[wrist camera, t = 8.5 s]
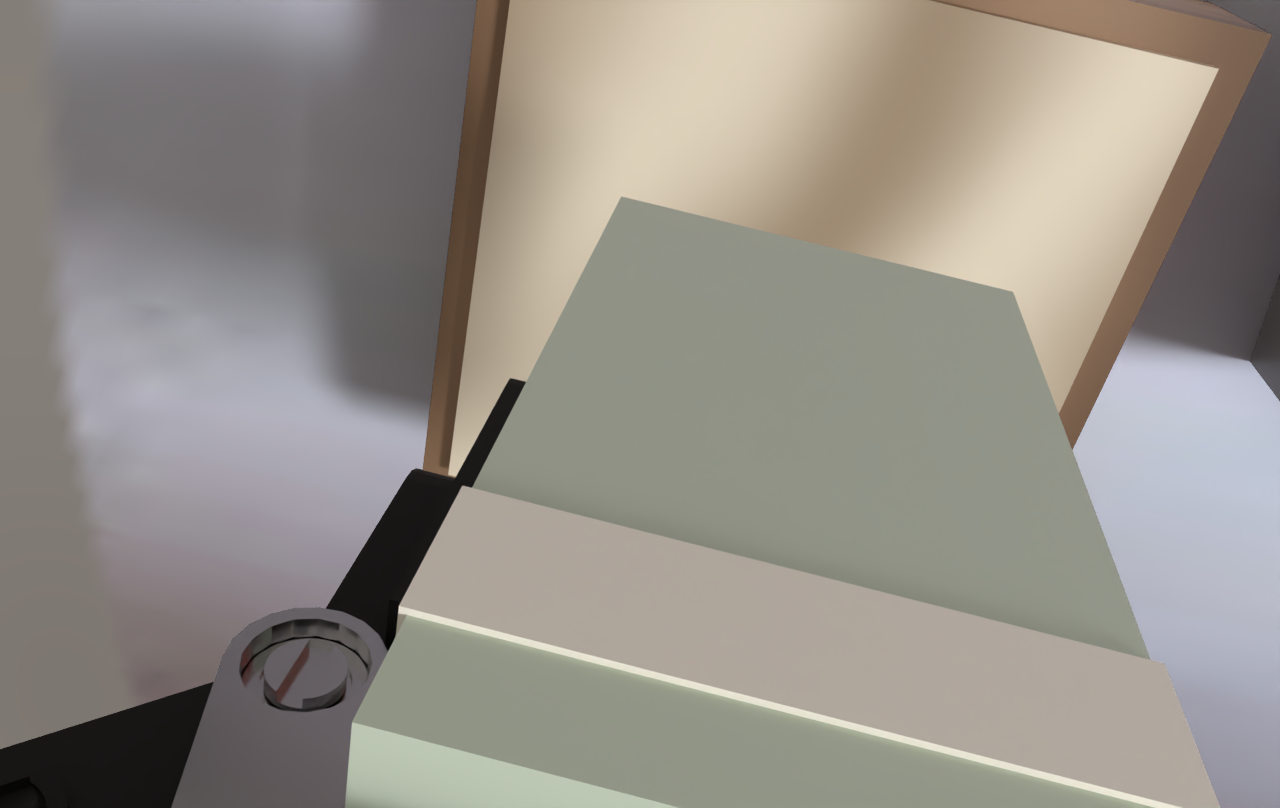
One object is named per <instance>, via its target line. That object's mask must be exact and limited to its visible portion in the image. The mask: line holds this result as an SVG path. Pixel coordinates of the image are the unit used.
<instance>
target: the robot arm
mask: <svg viewBox="0 0 1280 808" xmlns="http://www.w3.org/2000/svg"><path fill="white" fill-rule="evenodd" d="M525 383H526V382H525V381H521V380H517V379H513V378H510V379H509V381H508V382H507V384H506V386H505V387H504V389H503V391H502V393H501V395H500V397H499V398H498V400H497V402H496V404H495V406H494V408H493V409H492V411H491V413H490V415H489V417H488V419H487V421H486V422H485V424H484V426H483V428H482V430H481V432H480V433H479V435H478V437H477V439H476V441H475V443H474V444H473V446H472V448H471V450H470V452H469V454H468V455H467V457H466V459H465V461H464V463H463V465H462V467H461V468H460V470H459V472H458V474H457V476H456V478H452V477H448V476H444V475H440V474H436V473H432V472H428V471H424V470H421V469H417V468H416V469H414V470H412V471H411V472H410V474H409V475H408V476H407V477H406V479H405V481H404V482H403V484H402V485H401V487H400V489H399V490H398V492H397V494H396V495H395V497H394V498H393V500H392V502H391V503H390V505H389V507H388V508H387V510H386V511H385V513H384V515H383V516H382V518H381V520H380V521H379V523H378V524H377V526H376V528H375V529H374V531H373V533H372V534H371V536H370V537H369V539H368V541H367V542H366V544H365V546H364V547H363V549H362V550H361V552H360V554H359V555H358V557H357V559H356V560H355V562H354V563H353V565H352V567H351V568H350V570H349V572H348V573H347V575H346V576H345V578H344V580H343V581H342V583H341V585H340V586H339V588H338V589H337V591H336V593H335V594H334V596H333V598H332V599H331V601H330V602H329V604H328V606H327V607H326V608H321V607H316V608H293V609H288V610H284V611H280V612H275V613H271V614H269V615H267V616H265V617H263V618H261V619H259V620H257V621H255V622H252V623H250V624H249V625H248V626H247V627H245V628H244V629H243V630H242V631H241V632H240V633H238V634H237V635H236V636H235V637H234V638H233V639H232V641H231V642H230V644H229V646H228V647H227V649H226V651H225V653H224V654H223V656H222V659H221V662H220V665H219V668H218V671H217V674H216V677H215V680H214V682H212V683H209V684H205V685H202V686H199V687H196V688H193V689H190V690H186V691H183V692H180V693H177V694H174V695H171V696H167V697H164V698H161V699H158V700H155V701H152V702H148V703H145V704H142V705H139V706H136V707H133V708H129V709H126V710H123V711H120V712H117V713H114V714H111V715H107V716H104V717H101V718H98V719H95V720H92V721H89V722H85V723H82V724H79V725H76V726H73V727H69V728H66V729H63V730H60V731H57V732H54V733H50V734H47V735H44V736H41V737H38V738H35V739H32V740H28V741H25V742H22V743H19V744H16V745H12V746H10V747H6V748H3V749H0V808H345V800H346V788H347V776H348V764H349V752H350V740H351V728H352V721H353V719H354V717H355V715H356V713H357V711H358V709H359V707H360V706H361V704H362V702H363V700H364V698H365V696H366V694H367V692H368V690H369V688H370V686H371V684H372V682H373V680H374V678H375V676H376V674H377V672H378V670H379V668H380V666H381V665H382V663H383V661H384V659H385V657H386V655H387V653H388V651H389V649H390V647H391V645H392V643H393V641H394V639H395V637H396V629H397V619H398V610H399V605H400V603H401V601H402V599H403V597H404V595H405V593H406V592H407V590H408V588H409V586H410V584H411V582H412V580H413V578H414V576H415V574H416V573H417V571H418V569H419V567H420V565H421V563H422V561H423V559H424V557H425V556H426V554H427V552H428V550H429V548H430V546H431V544H432V542H433V540H434V538H435V537H436V535H437V533H438V531H439V529H440V527H441V525H442V523H443V521H444V520H445V518H446V516H447V514H448V512H449V510H450V508H451V506H452V504H453V502H454V501H455V499H456V497H457V495H458V493H459V491H460V489H461V487H462V486H466V487H470V488H472V487H473V485H474V483H475V481H476V479H477V477H478V475H479V473H480V471H481V469H482V467H483V465H484V463H485V461H486V459H487V458H488V456H489V454H490V452H491V450H492V448H493V446H494V444H495V442H496V440H497V438H498V436H499V434H500V432H501V430H502V428H503V426H504V424H505V422H506V420H507V418H508V417H509V415H510V413H511V411H512V409H513V407H514V405H515V403H516V401H517V399H518V397H519V395H520V393H521V391H522V389H523V387H524V385H525Z"/></svg>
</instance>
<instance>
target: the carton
mask: <svg viewBox="0 0 1280 808" xmlns="http://www.w3.org/2000/svg"><path fill="white" fill-rule="evenodd" d="M345 808H1220V805H1219V803H1218V800H1217V798H1216V795H1215V793H1214V790H1213V787H1212V785H1211V782H1210V780H1209V777H1208V774H1207V772H1206V769H1205V767H1204V764H1203V762H1202V759H1201V756H1200V754H1199V751H1198V749H1197V746H1196V744H1195V741H1194V738H1193V736H1192V733H1191V731H1190V728H1189V725H1188V723H1187V720H1186V718H1185V715H1184V713H1183V710H1182V707H1181V705H1180V702H1179V700H1178V697H1177V695H1176V692H1175V689H1174V687H1173V684H1172V682H1171V679H1170V677H1169V674H1168V671H1167V669H1166V666H1165V664H1164V663H1161V662H1157V661H1153V660H1150V657H1149V655H1148V652H1147V649H1146V647H1145V644H1144V641H1143V638H1142V636H1141V633H1140V630H1139V628H1138V625H1137V622H1136V620H1135V617H1134V614H1133V612H1132V609H1131V606H1130V604H1129V601H1128V598H1127V596H1126V593H1125V590H1124V588H1123V585H1122V582H1121V580H1120V577H1119V574H1118V572H1117V569H1116V566H1115V563H1114V561H1113V558H1112V555H1111V553H1110V550H1109V547H1108V545H1107V542H1106V539H1105V537H1104V534H1103V531H1102V529H1101V526H1100V523H1099V521H1098V518H1097V515H1096V513H1095V510H1094V507H1093V505H1092V502H1091V499H1090V497H1089V494H1088V491H1087V489H1086V486H1085V483H1084V480H1083V478H1082V475H1081V472H1080V470H1079V467H1078V464H1077V462H1076V459H1075V456H1074V454H1073V451H1072V448H1071V446H1070V443H1069V440H1068V438H1067V435H1066V432H1065V430H1064V427H1063V424H1062V422H1061V419H1060V416H1059V414H1058V411H1057V408H1056V405H1055V403H1054V400H1053V397H1052V395H1051V392H1050V389H1049V387H1048V384H1047V381H1046V379H1045V376H1044V373H1043V371H1042V368H1041V365H1040V363H1039V360H1038V357H1037V355H1036V352H1035V349H1034V347H1033V344H1032V341H1031V339H1030V336H1029V333H1028V331H1027V328H1026V325H1025V322H1024V320H1023V317H1022V314H1021V312H1020V309H1019V306H1018V304H1017V301H1016V298H1015V296H1014V293H1013V292H1012V291H1008V290H1004V289H1000V288H995V287H991V286H987V285H983V284H979V283H975V282H971V281H967V280H963V279H958V278H954V277H950V276H946V275H942V274H938V273H934V272H930V271H926V270H921V269H917V268H913V267H909V266H905V265H901V264H897V263H893V262H889V261H885V260H880V259H876V258H872V257H868V256H864V255H860V254H856V253H852V252H848V251H843V250H839V249H835V248H831V247H827V246H823V245H819V244H815V243H811V242H807V241H802V240H798V239H794V238H790V237H786V236H782V235H778V234H774V233H770V232H765V231H761V230H757V229H753V228H749V227H745V226H741V225H737V224H733V223H729V222H724V221H720V220H716V219H712V218H708V217H704V216H700V215H696V214H692V213H687V212H683V211H679V210H675V209H671V208H667V207H663V206H659V205H655V204H651V203H646V202H642V201H638V200H634V199H630V198H626V197H622V196H621V198H620V200H619V202H618V204H617V206H616V208H615V210H614V212H613V213H612V215H611V217H610V219H609V221H608V223H607V225H606V227H605V229H604V231H603V233H602V235H601V237H600V239H599V241H598V243H597V245H596V247H595V249H594V251H593V253H592V254H591V256H590V258H589V260H588V262H587V264H586V266H585V268H584V270H583V272H582V274H581V276H580V278H579V280H578V282H577V284H576V286H575V288H574V290H573V292H572V294H571V295H570V297H569V299H568V301H567V303H566V305H565V307H564V309H563V311H562V313H561V315H560V317H559V319H558V321H557V323H556V325H555V327H554V329H553V331H552V333H551V335H550V336H549V338H548V340H547V342H546V344H545V346H544V348H543V350H542V352H541V354H540V356H539V358H538V360H537V362H536V364H535V366H534V368H533V370H532V372H531V374H530V376H529V377H528V379H527V381H526V383H525V385H524V387H523V389H522V391H521V393H520V395H519V397H518V399H517V401H516V403H515V405H514V407H513V409H512V411H511V413H510V415H509V417H508V418H507V420H506V422H505V424H504V426H503V428H502V430H501V432H500V434H499V436H498V438H497V440H496V442H495V444H494V446H493V448H492V450H491V452H490V454H489V456H488V458H487V459H486V461H485V463H484V465H483V467H482V469H481V471H480V473H479V475H478V477H477V479H476V481H475V483H474V485H473V487H472V488H470V487H466V486H462V487H461V489H460V491H459V493H458V495H457V497H456V499H455V501H454V502H453V504H452V506H451V508H450V510H449V512H448V514H447V516H446V518H445V520H444V521H443V523H442V525H441V527H440V529H439V531H438V533H437V535H436V537H435V538H434V540H433V542H432V544H431V546H430V548H429V550H428V552H427V554H426V556H425V557H424V559H423V561H422V563H421V565H420V567H419V569H418V571H417V573H416V574H415V576H414V578H413V580H412V582H411V584H410V586H409V588H408V590H407V592H406V593H405V595H404V597H403V599H402V601H401V603H400V605H399V610H398V619H397V629H396V637H395V639H394V641H393V643H392V645H391V647H390V649H389V651H388V653H387V655H386V657H385V659H384V661H383V663H382V665H381V666H380V668H379V670H378V672H377V674H376V676H375V678H374V680H373V682H372V684H371V686H370V688H369V690H368V692H367V694H366V696H365V698H364V700H363V702H362V704H361V706H360V707H359V709H358V711H357V713H356V715H355V717H354V719H353V721H352V728H351V740H350V752H349V764H348V776H347V788H346V800H345Z"/></svg>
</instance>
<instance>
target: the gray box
mask: <svg viewBox="0 0 1280 808" xmlns="http://www.w3.org/2000/svg"><path fill="white" fill-rule="evenodd" d="M1250 362H1251V363H1252V365H1253V366H1254V367H1255V369H1256V370H1257V371H1258V373H1259V374H1260V375H1261V377H1262V378H1263V379H1264V381H1265V382H1266V383H1267V385H1268V386H1269V387H1270V389H1271V390H1272V391H1273V393H1274V394H1275V395H1276V397H1277V398H1278V399H1279V401H1280V276H1279V279H1278V282H1277V285H1276V288H1275V290H1274V293H1273V296H1272V299H1271V302H1270V305H1269V308H1268V311H1267V314H1266V316H1265V319H1264V322H1263V325H1262V328H1261V331H1260V334H1259V337H1258V340H1257V342H1256V345H1255V348H1254V351H1253V354H1252V357H1251V360H1250Z"/></svg>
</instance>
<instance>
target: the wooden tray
mask: <svg viewBox="0 0 1280 808" xmlns="http://www.w3.org/2000/svg"><path fill="white" fill-rule="evenodd" d="M1271 36H1272V34H1270V33H1268V32H1266V31H1264V30H1263V29H1261V28H1259V27H1257V26H1255V25H1253V24H1251V23H1249V22H1247V21H1245V20H1243V19H1241V18H1239V17H1237V16H1236V15H1234V14H1232V13H1230V12H1228V11H1226V10H1224V9H1222V8H1220V7H1218V6H1216V5H1214V4H1212V3H1210V2H1206V1H1201V0H477V5H476V13H475V22H474V30H473V39H472V48H471V56H470V65H469V74H468V82H467V91H466V100H465V108H464V117H463V126H462V134H461V143H460V152H459V160H458V169H457V178H456V186H455V195H454V204H453V212H452V221H451V230H450V238H449V247H448V256H447V264H446V273H445V282H444V290H443V299H442V308H441V316H440V325H439V334H438V342H437V351H436V360H435V368H434V377H433V386H432V394H431V403H430V412H429V420H428V429H427V438H426V446H425V455H424V464H423V470H424V471H428V472H432V473H436V474H440V475H444V476H448V477H452V478H456V476H457V474H458V472H459V470H460V468H461V467H462V465H463V463H464V461H465V459H466V457H467V455H468V454H469V452H470V450H471V448H472V446H473V444H474V443H475V441H476V439H477V437H478V435H479V433H480V432H481V430H482V428H483V426H484V424H485V422H486V421H487V419H488V417H489V415H490V413H491V411H492V409H493V408H494V406H495V404H496V402H497V400H498V398H499V397H500V395H501V393H502V391H503V389H504V387H505V386H506V384H507V382H508V381H509V379H510V378H513V379H517V380H521V381H525V382H526V381H527V379H528V377H529V376H530V374H531V372H532V370H533V368H534V366H535V364H536V362H537V360H538V358H539V356H540V354H541V352H542V350H543V348H544V346H545V344H546V342H547V340H548V338H549V336H550V335H551V333H552V331H553V329H554V327H555V325H556V323H557V321H558V319H559V317H560V315H561V313H562V311H563V309H564V307H565V305H566V303H567V301H568V299H569V297H570V295H571V294H572V292H573V290H574V288H575V286H576V284H577V282H578V280H579V278H580V276H581V274H582V272H583V270H584V268H585V266H586V264H587V262H588V260H589V258H590V256H591V254H592V253H593V251H594V249H595V247H596V245H597V243H598V241H599V239H600V237H601V235H602V233H603V231H604V229H605V227H606V225H607V223H608V221H609V219H610V217H611V215H612V213H613V212H614V210H615V208H616V206H617V204H618V202H619V200H620V198H621V196H622V197H626V198H630V199H634V200H638V201H642V202H646V203H651V204H655V205H659V206H663V207H667V208H671V209H675V210H679V211H683V212H687V213H692V214H696V215H700V216H704V217H708V218H712V219H716V220H720V221H724V222H729V223H733V224H737V225H741V226H745V227H749V228H753V229H757V230H761V231H765V232H770V233H774V234H778V235H782V236H786V237H790V238H794V239H798V240H802V241H807V242H811V243H815V244H819V245H823V246H827V247H831V248H835V249H839V250H843V251H848V252H852V253H856V254H860V255H864V256H868V257H872V258H876V259H880V260H885V261H889V262H893V263H897V264H901V265H905V266H909V267H913V268H917V269H921V270H926V271H930V272H934V273H938V274H942V275H946V276H950V277H954V278H958V279H963V280H967V281H971V282H975V283H979V284H983V285H987V286H991V287H995V288H1000V289H1004V290H1008V291H1012V292H1013V293H1014V296H1015V298H1016V301H1017V304H1018V306H1019V309H1020V312H1021V314H1022V317H1023V320H1024V322H1025V325H1026V328H1027V331H1028V333H1029V336H1030V339H1031V341H1032V344H1033V347H1034V349H1035V352H1036V355H1037V357H1038V360H1039V363H1040V365H1041V368H1042V371H1043V373H1044V376H1045V379H1046V381H1047V384H1048V387H1049V389H1050V392H1051V395H1052V397H1053V400H1054V403H1055V405H1056V408H1057V411H1058V414H1059V416H1060V419H1061V422H1062V424H1063V427H1064V430H1065V432H1066V435H1067V438H1068V440H1069V443H1070V446H1071V448H1072V450H1073V447H1074V445H1075V443H1076V441H1077V439H1078V437H1079V435H1080V433H1081V431H1082V429H1083V427H1084V425H1085V423H1086V420H1087V418H1088V416H1089V414H1090V412H1091V410H1092V408H1093V406H1094V404H1095V402H1096V400H1097V398H1098V396H1099V393H1100V391H1101V389H1102V387H1103V385H1104V383H1105V381H1106V379H1107V377H1108V375H1109V373H1110V371H1111V369H1112V366H1113V364H1114V362H1115V360H1116V358H1117V356H1118V354H1119V352H1120V350H1121V348H1122V346H1123V344H1124V342H1125V339H1126V337H1127V335H1128V333H1129V331H1130V329H1131V327H1132V325H1133V323H1134V321H1135V319H1136V317H1137V315H1138V312H1139V310H1140V308H1141V306H1142V304H1143V302H1144V300H1145V298H1146V296H1147V294H1148V292H1149V290H1150V288H1151V285H1152V283H1153V281H1154V279H1155V277H1156V275H1157V273H1158V271H1159V269H1160V267H1161V265H1162V263H1163V261H1164V259H1165V256H1166V254H1167V252H1168V250H1169V248H1170V246H1171V244H1172V242H1173V240H1174V238H1175V236H1176V234H1177V232H1178V229H1179V227H1180V225H1181V223H1182V221H1183V219H1184V217H1185V215H1186V213H1187V211H1188V209H1189V207H1190V205H1191V202H1192V200H1193V198H1194V196H1195V194H1196V192H1197V190H1198V188H1199V186H1200V184H1201V182H1202V180H1203V178H1204V175H1205V173H1206V171H1207V169H1208V167H1209V165H1210V163H1211V161H1212V159H1213V157H1214V155H1215V153H1216V151H1217V148H1218V146H1219V144H1220V142H1221V140H1222V138H1223V136H1224V134H1225V132H1226V130H1227V128H1228V126H1229V124H1230V121H1231V119H1232V117H1233V115H1234V113H1235V111H1236V109H1237V107H1238V105H1239V103H1240V101H1241V99H1242V97H1243V94H1244V92H1245V90H1246V88H1247V86H1248V84H1249V82H1250V80H1251V78H1252V76H1253V74H1254V72H1255V70H1256V67H1257V65H1258V63H1259V61H1260V59H1261V57H1262V55H1263V53H1264V51H1265V49H1266V47H1267V45H1268V43H1269V40H1270V38H1271Z"/></svg>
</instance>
